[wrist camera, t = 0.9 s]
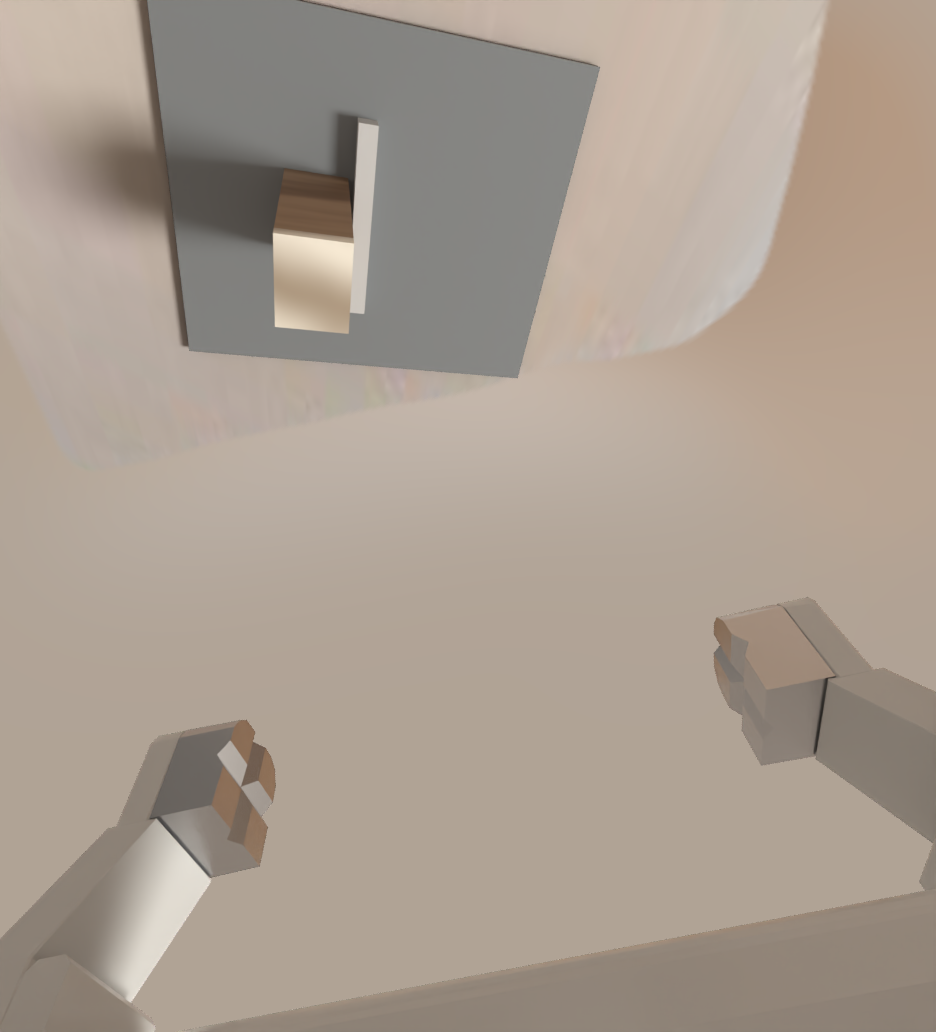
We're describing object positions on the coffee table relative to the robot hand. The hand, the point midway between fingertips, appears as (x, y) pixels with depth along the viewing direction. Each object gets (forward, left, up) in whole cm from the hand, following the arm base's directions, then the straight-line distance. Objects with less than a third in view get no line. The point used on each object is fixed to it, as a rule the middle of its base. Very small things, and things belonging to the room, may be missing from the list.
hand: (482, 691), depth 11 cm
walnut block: (+5, -3, -40) cm, 40 cm away
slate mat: (+5, +1, -40) cm, 41 cm away
